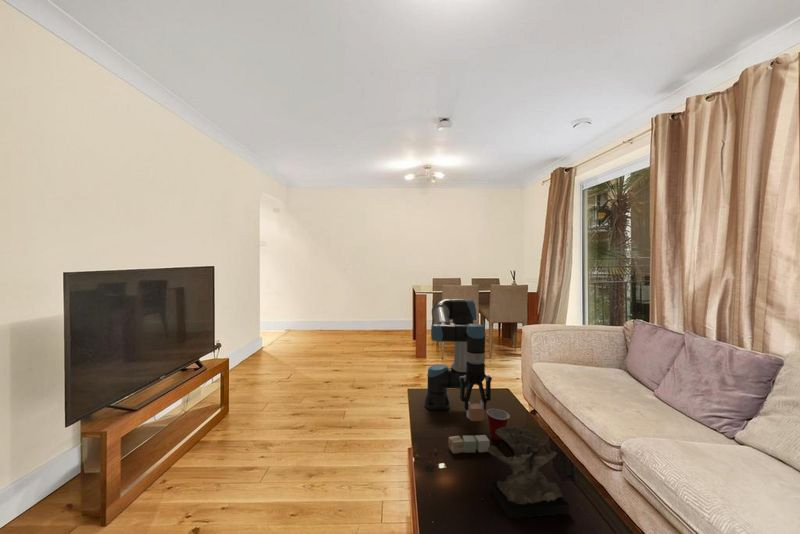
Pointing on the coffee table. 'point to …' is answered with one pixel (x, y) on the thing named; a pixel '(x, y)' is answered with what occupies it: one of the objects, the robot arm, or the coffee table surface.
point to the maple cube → (456, 444)
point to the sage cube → (469, 444)
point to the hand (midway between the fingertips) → (475, 417)
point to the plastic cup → (497, 421)
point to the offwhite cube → (482, 443)
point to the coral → (526, 477)
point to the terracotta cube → (476, 412)
